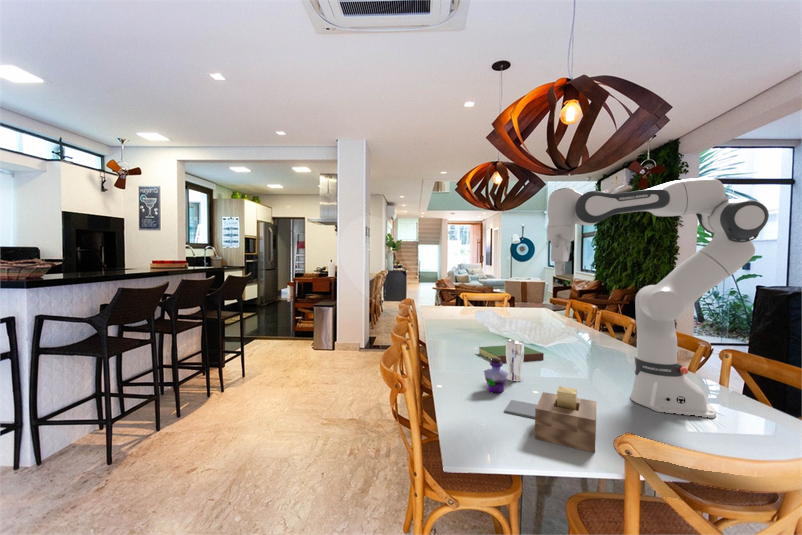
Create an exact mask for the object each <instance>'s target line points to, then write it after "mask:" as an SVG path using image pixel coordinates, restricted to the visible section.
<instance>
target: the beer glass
mask: <svg viewBox="0 0 802 535" xmlns="http://www.w3.org/2000/svg"><path fill="white" fill-rule="evenodd" d="M505 342H506V343H505V344H506V361H507V363H506V367H507V371H506V372H507V373H508V378H507V381H509V380H510V381H509V382H513V381H520V382H523V374H522V373H523V372H522V370H523V363H524V362H523V359H524V346H525V344H524V341H522V340H518V339H509V340H508V339H507V340H506V341H505Z"/></svg>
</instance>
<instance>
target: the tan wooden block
mask: <svg viewBox="0 0 802 535" xmlns="http://www.w3.org/2000/svg"><path fill="white" fill-rule="evenodd" d="M556 390H557V391H556V394H557V407H559V408H565V409H570V410H575V411H576V406H577V398H578V395H577V394H578V391H577V390H578V389H577V388H573V387H566V386H561V385H560V386H558V388H557V389H556Z"/></svg>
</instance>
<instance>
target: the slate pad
mask: <svg viewBox="0 0 802 535" xmlns="http://www.w3.org/2000/svg"><path fill="white" fill-rule="evenodd" d="M537 404H538V403H530V402H525V401H520V400H515V399H511V400H510V401H509V402H508V404H507V405H506V407H505V408H504V411H503V412H504V413H506V414H509V415H510V414H511V415H515V416H521V417H525V418H529V419H534V420H535V408H536V406H537Z"/></svg>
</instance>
